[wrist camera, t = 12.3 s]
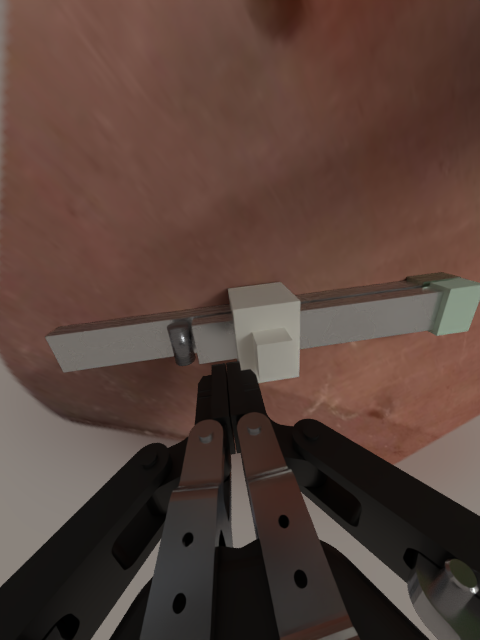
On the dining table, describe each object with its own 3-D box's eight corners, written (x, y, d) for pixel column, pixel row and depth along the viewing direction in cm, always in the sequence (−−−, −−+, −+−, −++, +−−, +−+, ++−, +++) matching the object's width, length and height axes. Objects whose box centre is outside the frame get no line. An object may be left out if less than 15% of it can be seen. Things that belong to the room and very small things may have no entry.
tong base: (76, 363, 18) (51, 390, 15) (56, 323, 17) (25, 345, 14) (438, 311, 20) (474, 326, 18) (450, 271, 19) (492, 280, 16)
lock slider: (235, 352, 19) (245, 403, 14) (227, 288, 17) (235, 321, 12) (281, 345, 20) (308, 392, 14) (280, 281, 17) (311, 311, 12)
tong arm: (200, 357, 17) (199, 371, 16) (192, 314, 16) (190, 324, 14) (448, 321, 19) (468, 331, 17) (462, 278, 17) (485, 284, 16)
